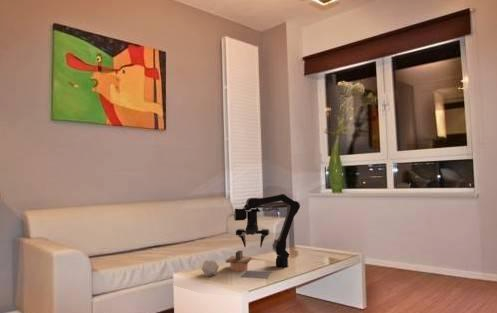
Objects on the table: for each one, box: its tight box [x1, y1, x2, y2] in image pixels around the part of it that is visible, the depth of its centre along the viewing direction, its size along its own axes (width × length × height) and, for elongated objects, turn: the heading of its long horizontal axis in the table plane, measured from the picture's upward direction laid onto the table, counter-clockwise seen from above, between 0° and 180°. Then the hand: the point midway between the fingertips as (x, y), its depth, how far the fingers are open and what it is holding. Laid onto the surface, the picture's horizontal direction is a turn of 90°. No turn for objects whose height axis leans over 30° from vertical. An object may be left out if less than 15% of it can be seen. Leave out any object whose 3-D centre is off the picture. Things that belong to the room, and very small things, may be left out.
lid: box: [225, 250, 253, 264], centre depth 207 cm, size 12×12×5 cm
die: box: [201, 259, 220, 277], centre depth 194 cm, size 8×9×10 cm
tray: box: [240, 270, 272, 280], centre depth 194 cm, size 14×14×1 cm
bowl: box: [229, 262, 249, 272], centre depth 206 cm, size 10×10×5 cm
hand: (253, 247), depth 210 cm, fingers open, 9 cm apart
